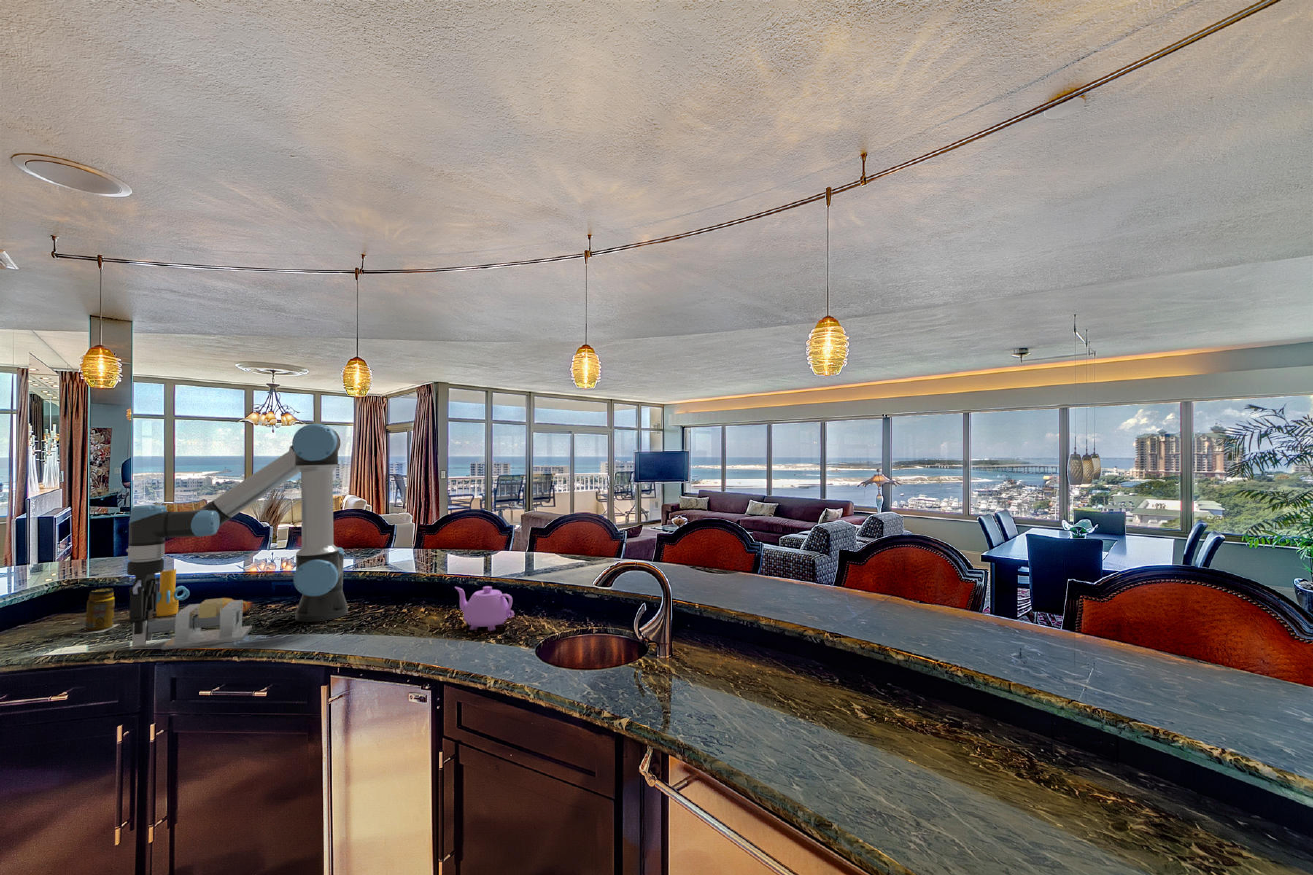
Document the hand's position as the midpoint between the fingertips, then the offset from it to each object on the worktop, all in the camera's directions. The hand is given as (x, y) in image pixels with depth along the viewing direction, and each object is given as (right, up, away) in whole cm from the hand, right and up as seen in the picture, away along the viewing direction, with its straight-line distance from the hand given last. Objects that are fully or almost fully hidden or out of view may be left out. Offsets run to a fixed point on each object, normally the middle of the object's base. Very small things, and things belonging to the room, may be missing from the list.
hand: (142, 642), depth 150 cm
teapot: (+91, -3, +20) cm, 93 cm away
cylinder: (-22, -3, +31) cm, 38 cm away
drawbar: (+9, +1, +4) cm, 10 cm away
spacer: (+14, +6, +7) cm, 16 cm away
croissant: (-1, -3, +27) cm, 27 cm away
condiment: (-28, -2, +15) cm, 32 cm away
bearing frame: (+14, -1, +7) cm, 15 cm away
